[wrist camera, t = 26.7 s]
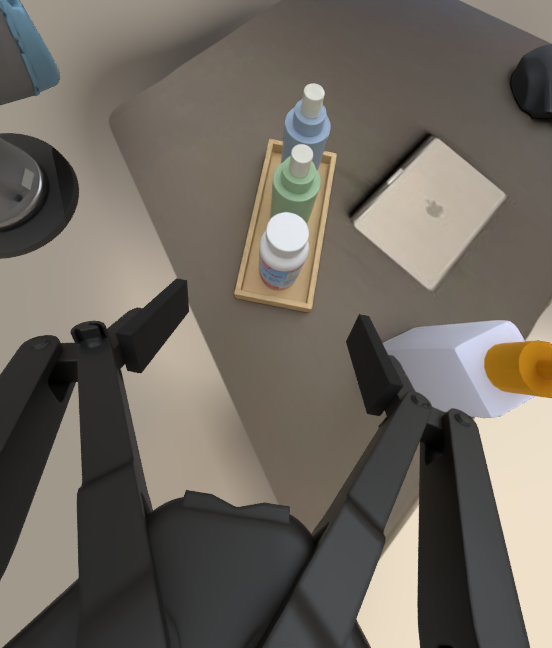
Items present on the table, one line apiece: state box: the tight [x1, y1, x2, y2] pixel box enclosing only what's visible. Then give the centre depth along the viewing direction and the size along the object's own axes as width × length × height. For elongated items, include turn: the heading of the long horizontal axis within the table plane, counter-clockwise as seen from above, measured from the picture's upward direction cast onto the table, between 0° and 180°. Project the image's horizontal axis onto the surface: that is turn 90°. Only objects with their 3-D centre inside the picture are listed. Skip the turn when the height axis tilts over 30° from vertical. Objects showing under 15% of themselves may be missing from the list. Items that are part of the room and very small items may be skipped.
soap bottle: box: [383, 320, 552, 418], centre depth 24 cm, size 10×14×22 cm
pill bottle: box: [259, 212, 309, 290], centre depth 29 cm, size 6×6×11 cm
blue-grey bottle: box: [281, 84, 330, 171], centre depth 31 cm, size 6×6×12 cm
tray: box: [234, 139, 337, 312], centre depth 36 cm, size 28×12×2 cm, turn 170°
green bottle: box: [270, 144, 321, 224], centre depth 30 cm, size 6×6×12 cm
